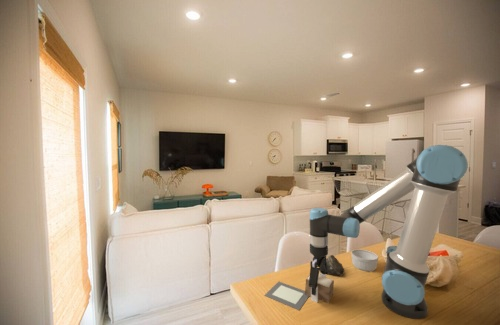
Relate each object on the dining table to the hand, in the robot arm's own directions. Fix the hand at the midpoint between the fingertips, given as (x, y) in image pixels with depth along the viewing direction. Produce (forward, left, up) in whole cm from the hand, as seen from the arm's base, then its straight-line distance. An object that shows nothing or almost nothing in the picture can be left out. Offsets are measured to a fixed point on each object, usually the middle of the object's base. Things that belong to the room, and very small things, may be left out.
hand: (318, 294), depth 96 cm
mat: (+11, +8, 0) cm, 14 cm away
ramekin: (-12, -39, -1) cm, 41 cm away
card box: (0, 0, 0) cm, 0 cm away
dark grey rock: (0, -23, -1) cm, 23 cm away
